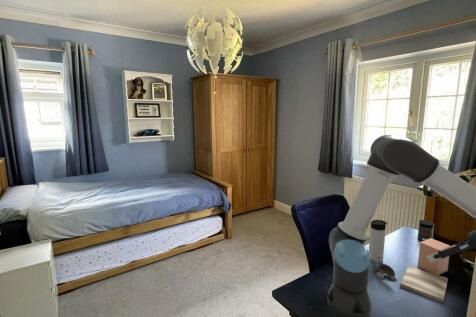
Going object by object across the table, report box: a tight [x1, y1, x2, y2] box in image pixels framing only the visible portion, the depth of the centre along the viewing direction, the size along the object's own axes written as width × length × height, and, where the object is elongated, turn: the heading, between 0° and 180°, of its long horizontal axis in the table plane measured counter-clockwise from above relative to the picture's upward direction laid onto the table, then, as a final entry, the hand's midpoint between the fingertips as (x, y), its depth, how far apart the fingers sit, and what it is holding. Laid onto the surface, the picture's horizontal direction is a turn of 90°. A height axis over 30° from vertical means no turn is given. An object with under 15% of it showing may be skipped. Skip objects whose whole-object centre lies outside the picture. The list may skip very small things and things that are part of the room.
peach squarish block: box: [417, 238, 452, 276], centre depth 117 cm, size 8×8×12 cm
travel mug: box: [368, 219, 388, 264], centre depth 124 cm, size 6×7×20 cm
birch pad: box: [399, 265, 449, 303], centre depth 108 cm, size 16×14×2 cm
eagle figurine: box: [370, 261, 398, 282], centre depth 113 cm, size 8×7×9 cm
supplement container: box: [417, 219, 435, 242], centre depth 142 cm, size 7×7×10 cm
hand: (438, 255), depth 116 cm, fingers open, 13 cm apart
